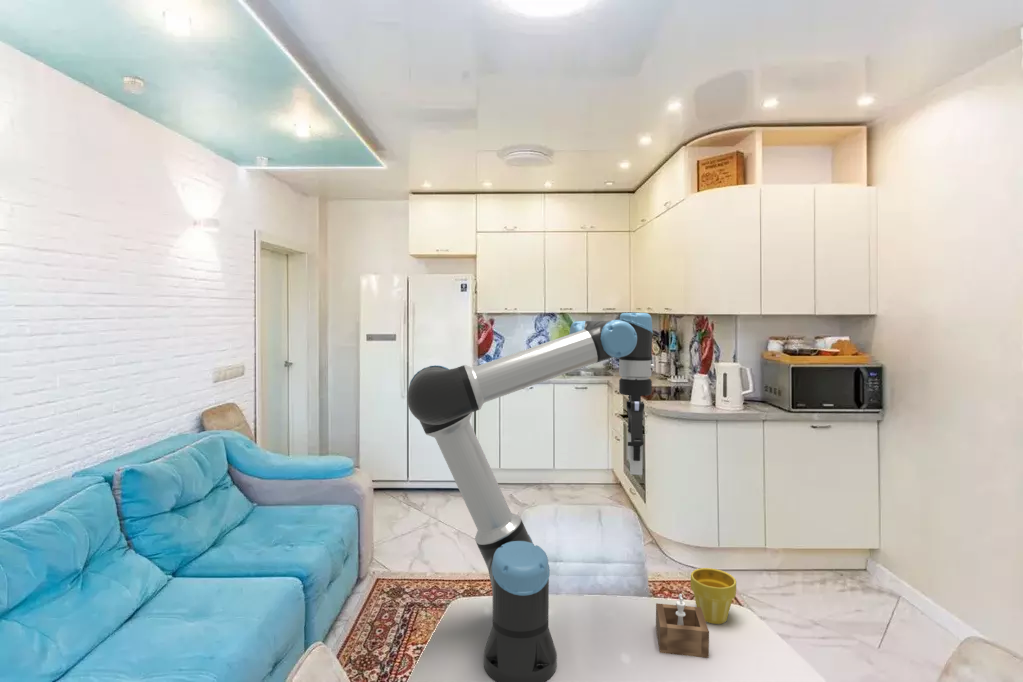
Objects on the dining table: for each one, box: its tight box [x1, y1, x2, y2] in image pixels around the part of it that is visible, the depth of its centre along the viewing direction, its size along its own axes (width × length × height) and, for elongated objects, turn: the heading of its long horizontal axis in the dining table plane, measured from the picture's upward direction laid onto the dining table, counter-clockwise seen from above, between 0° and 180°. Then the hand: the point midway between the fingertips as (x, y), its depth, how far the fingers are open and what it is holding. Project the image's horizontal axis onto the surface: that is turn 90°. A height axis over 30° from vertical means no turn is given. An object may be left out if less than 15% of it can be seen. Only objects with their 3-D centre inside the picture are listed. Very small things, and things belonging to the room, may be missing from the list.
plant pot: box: [690, 567, 737, 625], centre depth 130 cm, size 10×10×10 cm
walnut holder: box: [655, 602, 710, 659], centre depth 120 cm, size 10×10×6 cm
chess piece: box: [675, 593, 686, 625], centre depth 120 cm, size 5×5×10 cm
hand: (634, 466), depth 128 cm, fingers open, 13 cm apart
